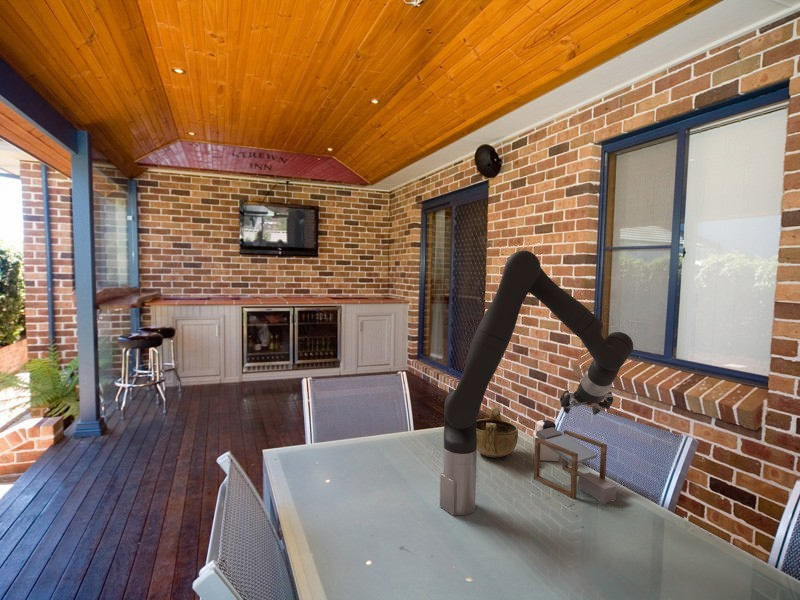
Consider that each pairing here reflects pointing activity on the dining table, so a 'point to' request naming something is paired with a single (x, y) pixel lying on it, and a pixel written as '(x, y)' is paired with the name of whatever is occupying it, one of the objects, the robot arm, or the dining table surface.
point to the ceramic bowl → (496, 435)
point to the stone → (597, 487)
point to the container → (545, 452)
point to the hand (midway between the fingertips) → (579, 411)
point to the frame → (565, 463)
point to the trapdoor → (566, 444)
